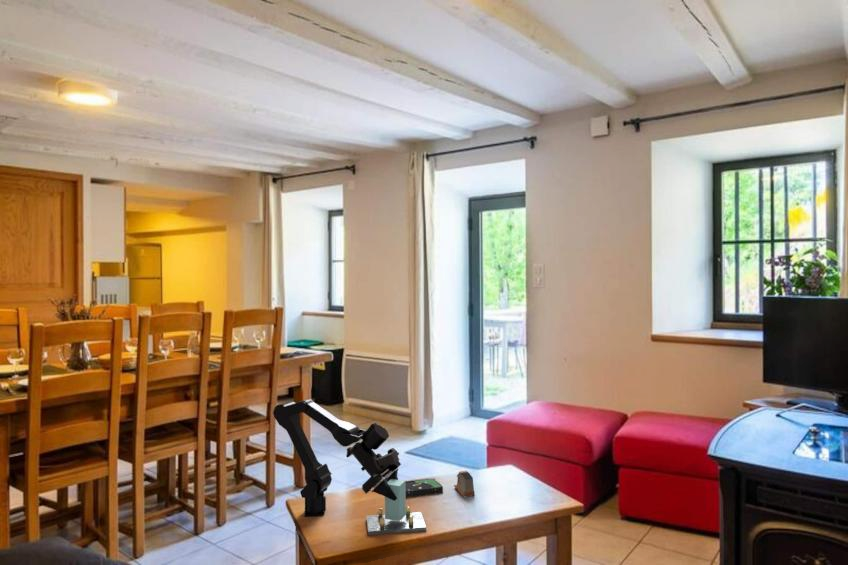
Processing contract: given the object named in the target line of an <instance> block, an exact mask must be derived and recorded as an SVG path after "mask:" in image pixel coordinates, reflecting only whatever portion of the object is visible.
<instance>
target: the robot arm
mask: <svg viewBox="0 0 848 565" xmlns="http://www.w3.org/2000/svg"><path fill="white" fill-rule="evenodd" d="M301 413H303V414H305V416H307V417H309V418H310V419H312V420H313V421H315V423H318V424H319V425H320V426H322V427H323V428H325V429H326V430H327V431H329V432H330V434H331V436H332V437H333V439H334V440H335V441H336V442H337V443H338V444H339V445H340V446H342V447H347V448H346V458H350V457H351V456H353V457H354V458H355V459H356V460H357V461H358V463H359V464H360V466H362V467H361V468H360V470H361V471H362V472H364V471H365V472H366V473H367V474H368V475H369V476H370V477H369V478H368V479H367V480H366V481H365V482H364V483H363V484H362V485H361V490H362V491H363V492H364V493H365V494H366V495H367V494H368V493H369V492H371V493H376V494H378V495H381V496H384V498H385V497H387V498H389V499H392V500H394V501H395V500H396V499H397V497H396V496H395V494H394V493H393V491H392V490H391V488H390V487H389V485H388V483H387V482H388V481H389V480H391V479H395V480H399V477H398V471H399V467H400V466H401V465H402V464H401V462H400V458H399V455H400V452H398V451H397V450H396V449H395V448H394V447H392V448H390V449H388V450H387V453H386V454H384V455H382V454H381V453H377V454H376V453H375V450H378V449H379V448H380V447H381V446H382V445H383V444H384V443H385V442H386V441H387V440H388V439H389V436H390V434H389V432H388V430H387V429H386V428H385V427H383V426H381V425H379V424H377V422H373V423H371V424H370V425H369V427H368V428H367V429H366V430H365V429H363V428H359V427H358V426H357V425H355V424H353V423H351V422H348V421H345V420H341V419H339V418H337V417H336V416H334V415H333V414H332V413H330V412H329V411H328V410H326V409H325V408H323V407H321V406H320V405H319V404H317V403H315V402H314V400H313V399H311V398H306V399H303V400H300V401H299V400H298V401H295V402H294V401H292V400H288V401H285V402H282V403H279V404H277V405H275V407H274V408H273V411H272V414H273V417H274V420H276V423H278V425H279V426H280V427H282V428H283V429H284V430H285V431H286V433H287V434H288V436H289V439H290V440H291V443H292V444H293V446H294V447H293V448H294V449H295V451H296V453H297V455H298V457H299V460H300V462H301V464H302V466H303V468H304V481H305V484H306V485H305V486H304V487H303V488H302V489H301V490H300V491H299V493H300V496H301V498H303V499H304V513H303V516H304V517H314V516H316V517H317V516H324V515H325V512H326V510H327V498H326V496H325V492H327V491H328V487H329V486H330V485H331V484H332V480H333V479H332V472H331V471H330V470H329V467H328V464H327V463H324V464H322V463H320V461H319V460H318V458H317V456H316V455H315V452H314V450H313V448H312V446H311V443H310V441H309V439H308V438H307V435H306V433H305V430H303V427H302V425H301ZM360 441H361V442H360ZM353 444H354V445H353ZM351 445H352V446H351Z"/></svg>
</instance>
